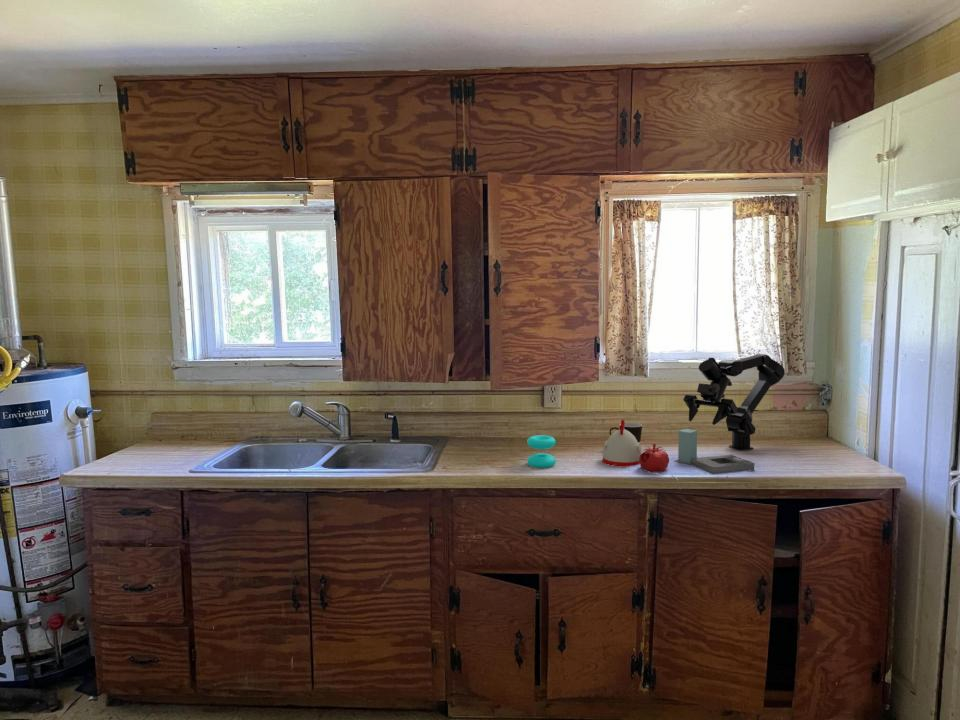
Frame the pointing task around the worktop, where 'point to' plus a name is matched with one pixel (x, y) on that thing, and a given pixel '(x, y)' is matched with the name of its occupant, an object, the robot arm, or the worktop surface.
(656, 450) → the pomegranate
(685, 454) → the block
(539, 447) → the donuts
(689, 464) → the mat
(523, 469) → the worktop surface
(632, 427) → the coffee mug
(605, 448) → the kitchen timer
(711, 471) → the plate
